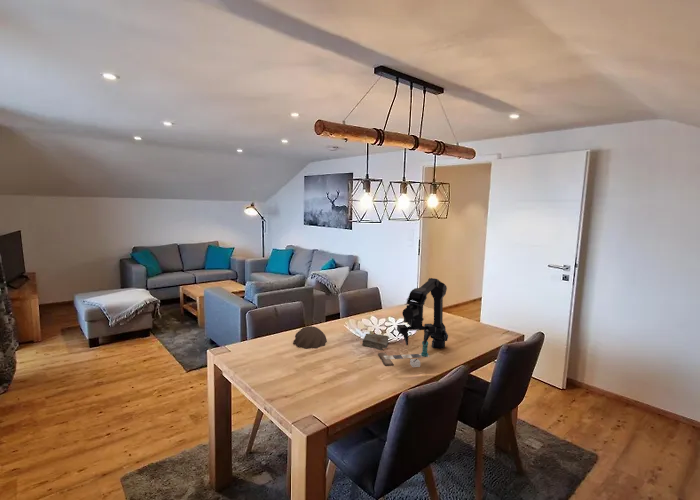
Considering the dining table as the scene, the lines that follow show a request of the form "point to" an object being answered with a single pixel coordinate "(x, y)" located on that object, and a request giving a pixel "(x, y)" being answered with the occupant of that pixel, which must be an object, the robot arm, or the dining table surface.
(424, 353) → the pawn
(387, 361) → the board
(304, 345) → the decorative dome
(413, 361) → the die
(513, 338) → the dining table surface
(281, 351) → the dining table surface
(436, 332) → the robot arm
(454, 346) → the dining table surface
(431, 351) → the dining table surface
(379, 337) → the marble piece
